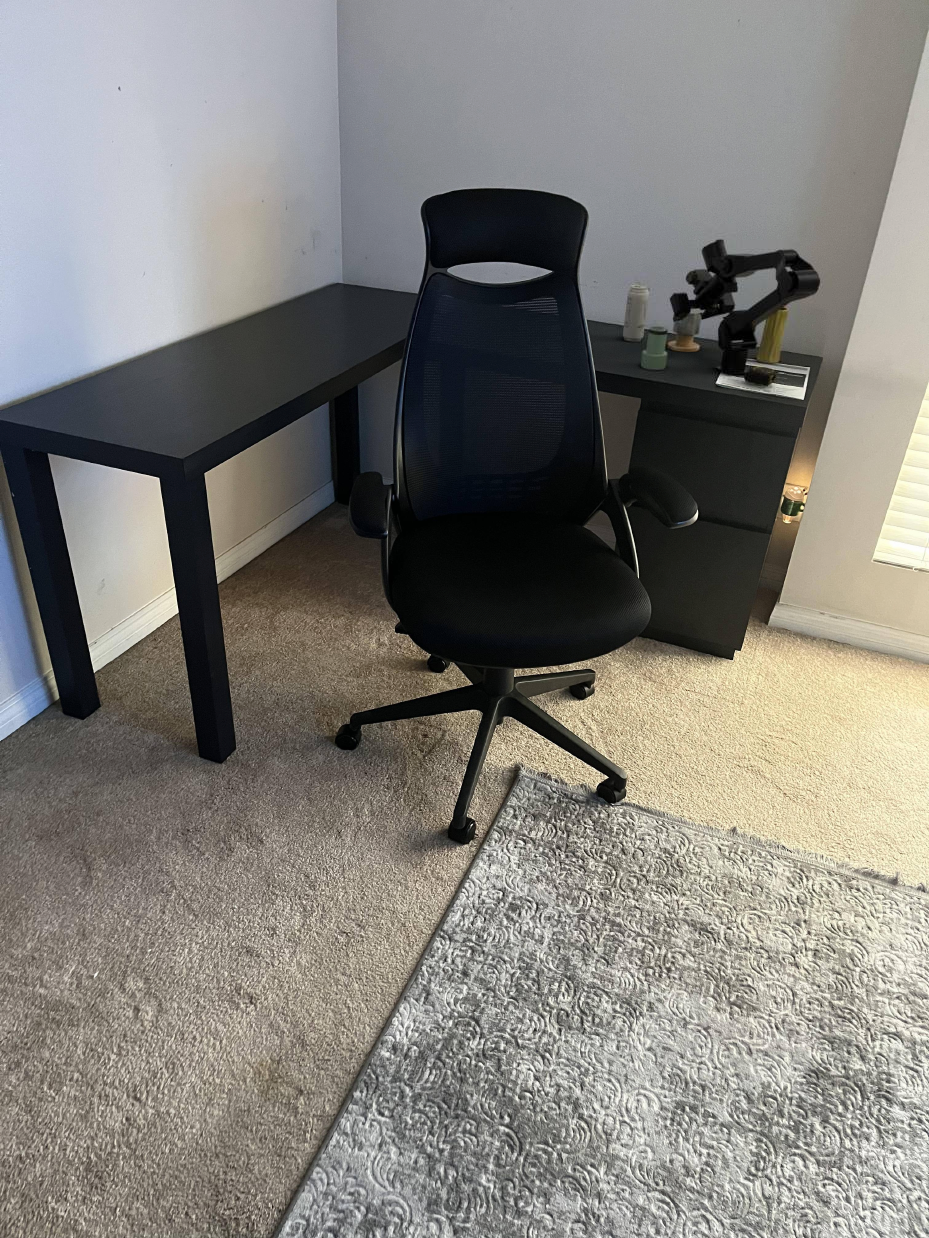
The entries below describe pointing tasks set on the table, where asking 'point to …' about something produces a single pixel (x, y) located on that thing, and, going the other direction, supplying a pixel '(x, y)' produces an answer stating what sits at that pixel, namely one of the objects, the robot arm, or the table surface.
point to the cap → (689, 323)
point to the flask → (655, 349)
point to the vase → (772, 337)
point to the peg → (684, 344)
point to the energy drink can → (635, 313)
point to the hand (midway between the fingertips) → (687, 319)
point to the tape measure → (760, 376)
